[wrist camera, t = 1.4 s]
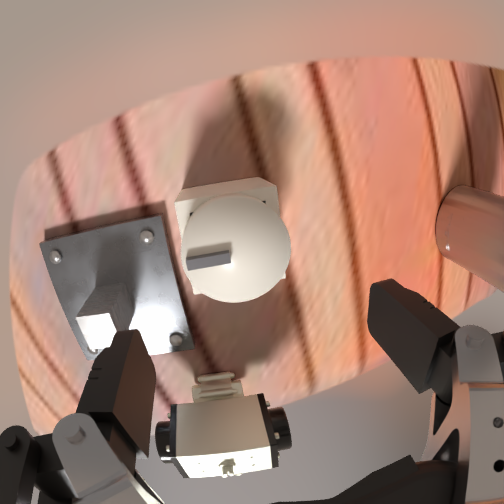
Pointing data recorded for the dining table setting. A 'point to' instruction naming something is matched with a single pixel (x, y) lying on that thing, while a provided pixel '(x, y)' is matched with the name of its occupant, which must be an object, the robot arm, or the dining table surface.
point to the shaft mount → (119, 285)
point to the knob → (232, 239)
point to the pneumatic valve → (222, 431)
